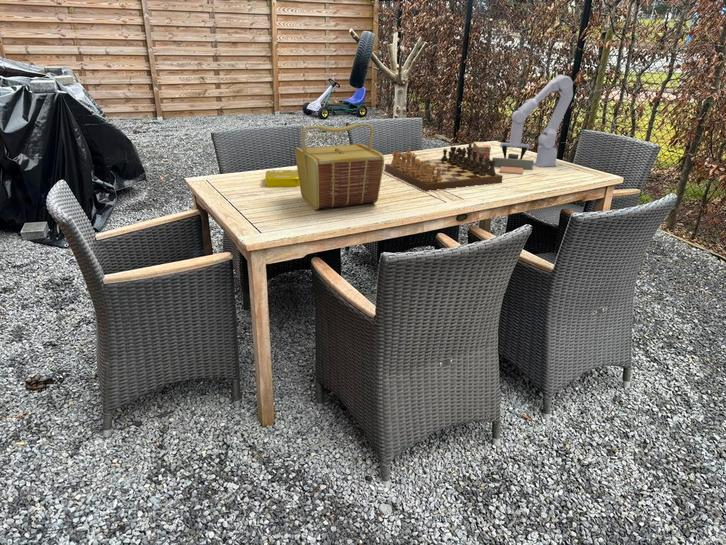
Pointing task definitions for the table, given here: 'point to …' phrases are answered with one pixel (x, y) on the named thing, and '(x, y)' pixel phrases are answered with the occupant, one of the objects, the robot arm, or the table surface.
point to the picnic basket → (339, 172)
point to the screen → (513, 163)
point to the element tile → (282, 178)
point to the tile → (511, 170)
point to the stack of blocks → (481, 150)
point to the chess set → (444, 169)
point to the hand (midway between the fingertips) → (512, 161)
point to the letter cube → (513, 156)
